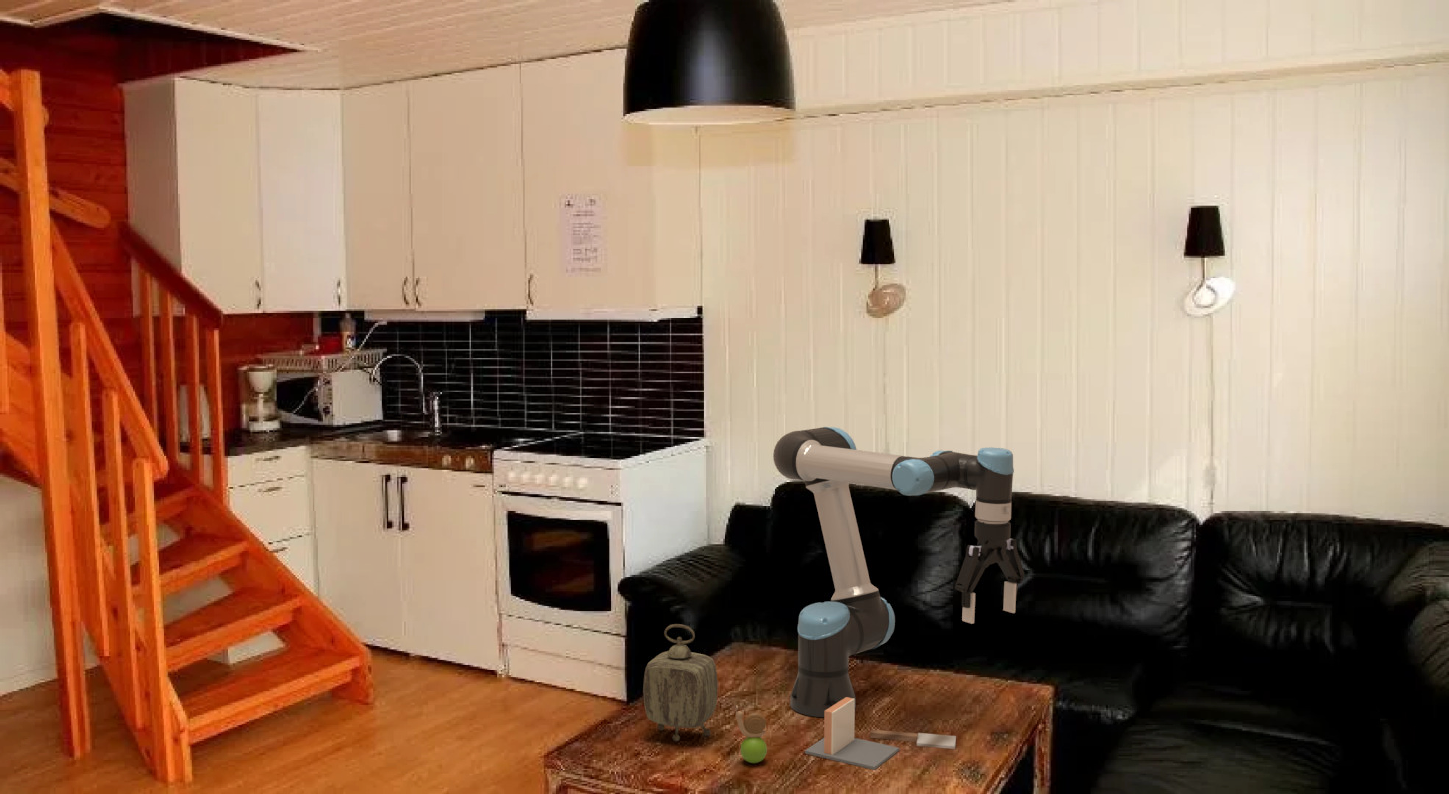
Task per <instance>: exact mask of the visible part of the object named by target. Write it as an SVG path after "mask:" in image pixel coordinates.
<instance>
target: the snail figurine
mask: <svg viewBox="0 0 1449 794" xmlns="http://www.w3.org/2000/svg"><path fill="white" fill-rule="evenodd" d="M738 709H739V705H737V704H736V705H735V710H736V711H735V717H736V721H737V725H738V728H739V731H740V732H741V734H742V735H744V736H745V737H746V738H745V739H744V740H742V742H741V745H740V754H741V756H742V758H743V760H744V761H746V762H747V763H750V764H757V763H760V762H762V761H763V760H764V759H765V758H766V755H767V752H768V746H767V744H766V741H765V740H764V739H763V738H762V737H763V736H765V734H766V733H767V731H766V730H765V728H766V726H767V720H766V718H765V716H763V714H761V713H760V712H752V713H750V714H748V715H746V717H745V719H743V715H744V714H743V712H742V711H741V710H738Z"/></svg>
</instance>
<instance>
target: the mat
mask: <svg viewBox="0 0 1449 794" xmlns="http://www.w3.org/2000/svg"><path fill="white" fill-rule="evenodd" d="M899 751H900V747H897V746H892V745H889V744H884V743H880V742H875V741H871V740H866V739H862V738H857V737H854V740H853V741H852V742H850V743H849V744H848V745H846V746H845V747H843V748H842V749H841V750H839V751H838V752H836V753H835V754H833V755H830V754H826V753H824V737H823V738H821V739H820V740H818V741H817V742H815V743H814V744H812V745H811V746H809V747H808V748H806V749H805V750H804V754H806V755H811V756H814V757H819V758H823V759H827V760H832V761H835V762H839V763H844V764H848V765H853V766H856V767H861V768H863V769H869V770H873V771H875V770H876V769H877V768H879V767H880V766H881V765H884V763H886V761H889V759H891V758H892V757H893V756H894V755H896V754H897V753H899Z"/></svg>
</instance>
